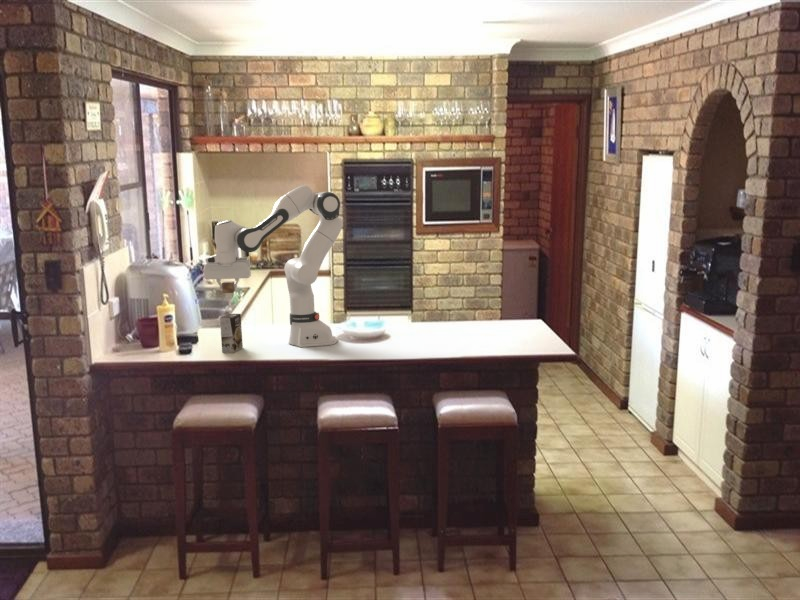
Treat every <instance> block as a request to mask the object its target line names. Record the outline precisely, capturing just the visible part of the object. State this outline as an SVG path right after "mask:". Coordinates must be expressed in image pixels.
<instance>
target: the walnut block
mask: <svg viewBox="0 0 800 600" xmlns="http://www.w3.org/2000/svg"><path fill="white" fill-rule="evenodd" d="M221 284H222V289H221V290H222V291H221V292H222V294H233V293H234V292H236V291H235V289H233V284H235V280H231V281H228V280H226V281H222V283H221Z"/></svg>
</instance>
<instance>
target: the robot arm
mask: <svg viewBox="0 0 800 600" xmlns="http://www.w3.org/2000/svg"><path fill="white" fill-rule="evenodd" d="M340 207H341V201H340V198H339V197H338V196H337V194H335V193H334V192H331V191H320V192H314V191H313V190H312V189H311V187H309V186H308V185H304V184H303V185H300V186H296V187H295V188H294V189H291V190H290V191H288V192H287V193H285V194H284V195H282V196H281V197H280V198H279V199H277V200H276V202H275V203H274V204H273V207H272V212H271V214H270V215H269V216H267V218H265V219H263V220H262V221H261V222H259V224H257V225H256V226H254V227H251V228H250V227H247V226H243V225H240V224H238V223H236V222H234V221H233V220H231V219H230V220H229V219H228V220H223V221H219V222H218V223H216V224H215V227H214V243H215V247H216V248H215V254H212V255H210V256H207V257H206V258H205V260H204V261H205V264H204V266H203V277H204V279H205V280H216V283H217V284H218V286H219V289H220V290H222V283H221V280H227V279H229V280H230V279H234V284H233V289H236V290H237V289H238V284H239V282H240V279H249V278H250V277H252V276H251V275H252V273H251V260H250V258H248V257H245V256H244V257H237V256H238V255H237V249H240V250H241V251H243V252H246V253H253V252H256V251H257V250H258V249H259V248H260V247H261V245H262V243H263V242H264V240H265V239H266V238H267V237H268V236H269V235H271V234H272V233H274V232H275V231H276V230H278V229H279V228H281V227H282V226H283V225H285V224H286V223H288V222H290V221H292V220H294V219H295V218H297V217H298V216H299V215H301V214H303V213H304V212H305V211H307V210H309V211H310V212H312V213H313V214H314V215H317V216H319V218H318V219H319V220H318V223H317V225H316V226H315V228H314V229H313V230H312V232H311V234H309V236H308V237H307V240H306V241H305V242H304V243H303V244H304V245H303V248H302V250H301V254H300V256H299V257H294V258H290V259H288V260H287V262H285V264H284V266H283V267H284V274H285V278H286V285H287V289H288V294H289V306H290V313H289V324H290V335H289V339H288V344H289V345H292V346H295V347H296V346H297V347H298V348H299V347H300V348H308V347H310V348H311V347H319V346H321V347H323V346H333V345H335V344H337V342H338V338H337V337H336V336H334V335H333V332H332V329H331V327H330V326H329V325H328V324H326V323H325V322H323V321H321V320H320V313H319V312H316V311H315V296H314V292H313V289H312V284H313V283H315V282H316V281H317V279H318V274H319V271H320V268H321V266H322V264H323V261H324V260H325V257H327V256H326V255H327V254H328V253H329V251H330V250H331V249H332V247H333V245H334V244H335V242H336V240H337V239H338V237H339V235H340V233H341V231H342V228H343V220H342V219H340V217H339V216H340V210H341V209H340Z"/></svg>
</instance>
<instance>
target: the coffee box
mask: <svg viewBox="0 0 800 600" xmlns="http://www.w3.org/2000/svg"><path fill="white" fill-rule="evenodd" d="M219 321H220V323H219V324H220V325H219V326H220V337H221V339H220V340H221V341H220V342H221V352H222V353H228V354H229V353H230V354H235V353H237V352H238V351H240V350H242V349H243V348H244V347H243V331H242V330H243V329H242V316H241V313H227V314H224V315H223V316H220V318H219Z"/></svg>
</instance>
